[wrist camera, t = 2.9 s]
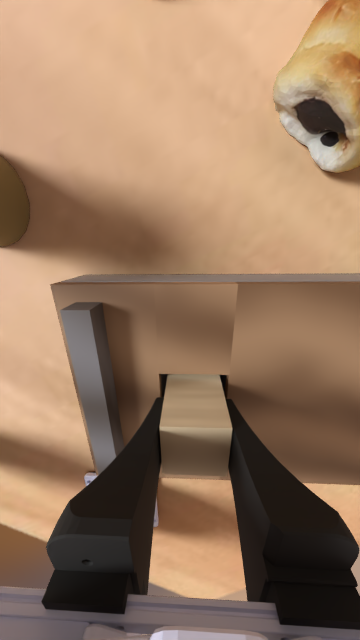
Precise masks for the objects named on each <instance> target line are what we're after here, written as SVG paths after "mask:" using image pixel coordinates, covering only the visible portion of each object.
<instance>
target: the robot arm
mask: <svg viewBox="0 0 360 640" xmlns="http://www.w3.org/2000/svg"><path fill="white" fill-rule="evenodd" d="M225 400H226V404H227V408H228V412H229V416H230V420H231V425H232V437H231V446H230V454H229V463H228V470H229V474H230V478H231V483H232V488H233V495H234V501H235V508H236V515H237V522H238V529H239V536H240V544H241V551H242V559H243V567H244V575H245V583H246V590H247V600H248V601H231V600H215V599H199V598H183V597H167V596H150V595H147V592H148V580H149V569H150V557H151V547H152V536H153V527H157V526H158V523H159V520H158V508H157V487H158V480H159V474H160V469H161V463H162V459H161V443H160V427H159V426H160V420H161V414H162V408H163V401H164V397H157V398H156V399H155V401H154V403H153V405H152V407H151V409H150V411H149V413H148V414H147V416H146V418H145V419H144V421H143V423H142V424H141V426H140V427H139V429H138V430H137V431H136V433H135V434H134V436H133V437H132V438H131V440H130V441H129V442H128V444H127V445H126V446H125V447H124V448H123V450H122V451H121V452H120V453H119V454H118V455H117V457H116V458H115V459H114V460H113V461H112V462H111V463H110V464H109V465H108V466H107V467H106V468H105V469H104V470H103V471H102V472H101V473H100V474H99V475H96V473H86V474H85V477H84V480H85V483H86V487H85V488H84V489H83V490H82V491H81V492H79V493H78V494H77V495H76V496H75V497H74V498H72V499H71V500H70V501H69V503H68V504H67V506H66V508H65V509H64V511H63V513H62V514H61V516H60V518H59V520H58V522H57V524H56V526H55V528H54V530H53V532H52V534H51V537H50V539H49V541H48V543H47V546H46V548H47V553H48V556H49V558H50V560H51V562H52V564H53V566H54V568H55V570H54V572H53V575H52V577H51V579H50V582H49V584H48V587H47V589H36V588H20V587H4V586H0V640H360V596H359V594H358V592H357V590H356V587H357V586H358V585H357V581H356V579H355V577H354V575H353V573H352V571H351V567H352V565H353V564H354V562H355V561H356V559H357V557H358V554H359V547H358V544H357V542H356V541H355V539H354V537H353V535H352V533H351V532H350V530H349V528H348V527H347V525H346V524H345V522H344V521H343V519H342V518H341V516H340V515H339V513H338V512H337V511H336V510H334V509H333V508H332V507H331V506H329V505H328V504H327V503H326V502H324V501H323V500H322V499H320V498H319V497H318V496H317V495H315V494H314V493H313V492H312V491H311V490H309V489H308V488H307V487H306V486H305V485H304V484H302V483H301V482H300V481H299V480H298V479H297V478H296V477H295V476H294V475H293V474H292V473H291V472H290V471H288V470H287V469H286V468H285V467H284V466H283V465H282V464H281V463H280V462H279V461H278V460H277V459H276V457H275V456H274V455H273V454H272V453H271V452H270V451H269V450H268V449H267V448H266V446H265V445H264V444H263V443H262V442H261V440H260V439H259V438H258V437H257V435H256V434H255V433H254V432H253V430H252V429H251V428H250V426H249V425H248V423H247V422H246V421H245V419H244V418H243V416H242V415H241V413H240V412H239V410H238V409H237V407H236V405H235V404H234V402H233V400H232V399H225ZM141 634H152V635H142V636H141Z"/></svg>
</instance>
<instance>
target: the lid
mask: <svg viewBox="0 0 360 640" xmlns="http://www.w3.org/2000/svg"><path fill="white" fill-rule="evenodd" d="M51 290H52V294H53V298H54V302H55V306H56V310H57V314H58V319H59V323H60V327H61V331H62V335H63V339H64V343H65V347H66V352H67V356H68V360H69V364H70V368H71V372H72V376H73V381H74V385H75V389H76V393H77V397H78V401H79V405H80V409H81V414H82V418H83V422H84V426H85V430H86V434H87V438H88V442H89V447H90V451H91V455H92V459H93V463H94V467H95V471H96V475H99V474H100V473H101V472H102V471H103V470H104V469H105V468H106V467H107V466H108V465H109V464H110V463H111V462H112V461H113V460H114V459H115V458H116V457H117V455H118V454H119V453H120V452H121V451H122V450H123V448H124V447H125V446H126V445H127V444H128V442H129V441H130V440H131V438H132V437H133V436H134V434H135V433H136V431H137V430H138V429H139V427H140V426H141V424H142V423H143V421H144V419H145V418H146V416H147V414H148V413H149V411H150V409H151V407H152V405H153V403H154V401H155V399H156V398H157V397H162V386H161V374H205V375H226V386H225V399H232V400H233V402H234V404H235V405H236V407H237V409H238V410H239V412H240V413H241V415H242V416H243V418H244V419H245V421H246V422H247V423H248V425H249V426H250V428H251V429H252V430H253V432H254V433H255V434H256V435H257V437H258V438H259V439H260V440H261V442H262V443H263V444H264V445H265V446H266V448H267V449H268V450H269V451H270V452H271V453H272V454H273V455H274V456H275V457H276V459H277V460H278V461H279V462H280V463H281V464H282V465H283V466H284V467H285V468H286V469H287V470H288V471H290V472H291V473H292V474H293V475H294V476H295V477H296V478H297V479H298V480H299V481H300V482H301V483H318V484H345V485H360V281H299V282H58V283H54V284H51ZM159 478H184V479H211V480H231V478H230V474H229V470H228V472H227V477H225V476H198V475H170V474H162V463H161V469H160V474H159Z"/></svg>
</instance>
